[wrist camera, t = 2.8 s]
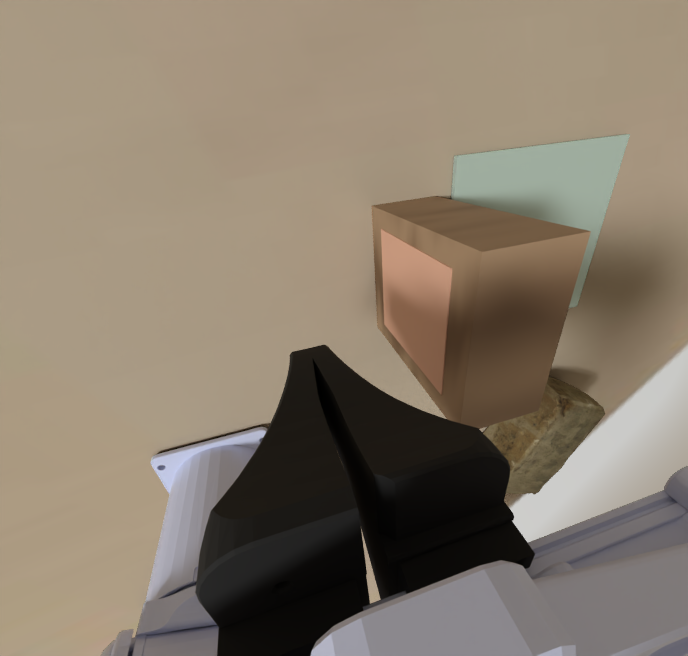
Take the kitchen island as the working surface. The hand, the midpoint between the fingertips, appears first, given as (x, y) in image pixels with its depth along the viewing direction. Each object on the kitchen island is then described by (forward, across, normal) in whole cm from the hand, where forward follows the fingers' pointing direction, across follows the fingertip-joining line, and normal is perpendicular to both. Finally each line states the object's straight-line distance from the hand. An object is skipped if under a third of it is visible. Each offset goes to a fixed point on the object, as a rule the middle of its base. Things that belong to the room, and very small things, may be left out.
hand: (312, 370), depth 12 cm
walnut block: (+8, -8, 0) cm, 11 cm away
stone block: (+9, -19, +18) cm, 28 cm away
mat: (+8, -16, 0) cm, 19 cm away
